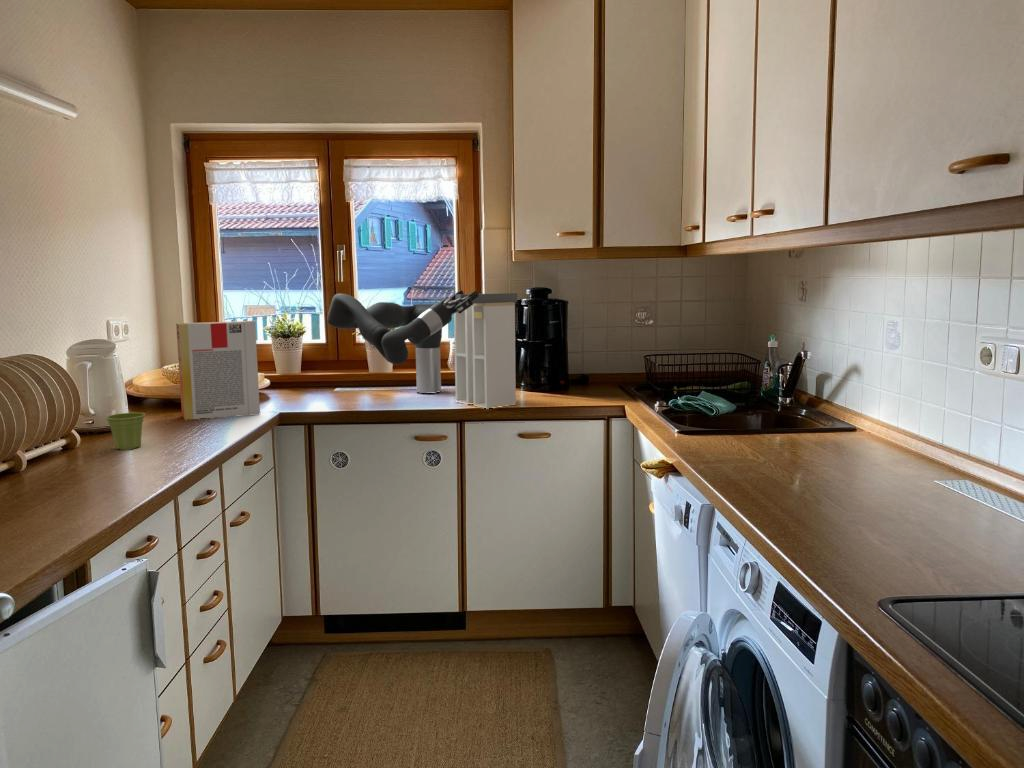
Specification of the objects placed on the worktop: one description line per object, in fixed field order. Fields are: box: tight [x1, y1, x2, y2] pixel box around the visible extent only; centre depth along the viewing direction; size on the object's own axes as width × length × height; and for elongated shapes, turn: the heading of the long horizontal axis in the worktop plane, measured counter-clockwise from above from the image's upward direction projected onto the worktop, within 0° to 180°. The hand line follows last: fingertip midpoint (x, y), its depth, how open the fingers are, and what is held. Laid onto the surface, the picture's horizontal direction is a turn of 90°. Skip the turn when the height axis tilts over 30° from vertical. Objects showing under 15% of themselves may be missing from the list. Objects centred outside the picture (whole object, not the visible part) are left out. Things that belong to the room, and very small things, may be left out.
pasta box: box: [175, 320, 261, 420], centre depth 266 cm, size 23×8×30 cm, turn 117°
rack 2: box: [472, 302, 517, 410], centre depth 279 cm, size 12×8×35 cm, turn 127°
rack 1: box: [453, 306, 473, 403], centre depth 288 cm, size 12×8×35 cm, turn 127°
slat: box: [454, 292, 518, 304], centre depth 275 cm, size 23×3×3 cm, turn 127°
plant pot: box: [105, 412, 146, 451], centre depth 218 cm, size 9×9×9 cm
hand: (469, 292), depth 271 cm, fingers open, 8 cm apart
